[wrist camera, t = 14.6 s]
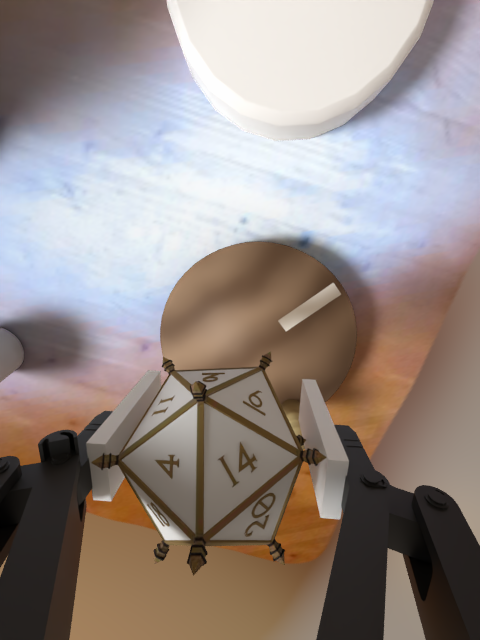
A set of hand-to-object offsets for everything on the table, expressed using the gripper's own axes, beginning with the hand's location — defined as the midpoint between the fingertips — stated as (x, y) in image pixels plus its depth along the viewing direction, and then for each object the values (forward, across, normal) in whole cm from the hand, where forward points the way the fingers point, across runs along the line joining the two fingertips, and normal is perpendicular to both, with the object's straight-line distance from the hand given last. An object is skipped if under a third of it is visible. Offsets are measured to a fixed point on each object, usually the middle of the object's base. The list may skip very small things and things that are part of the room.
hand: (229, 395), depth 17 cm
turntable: (+15, +2, -1) cm, 15 cm away
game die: (0, 0, 0) cm, 0 cm away
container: (+15, +3, +28) cm, 32 cm away
